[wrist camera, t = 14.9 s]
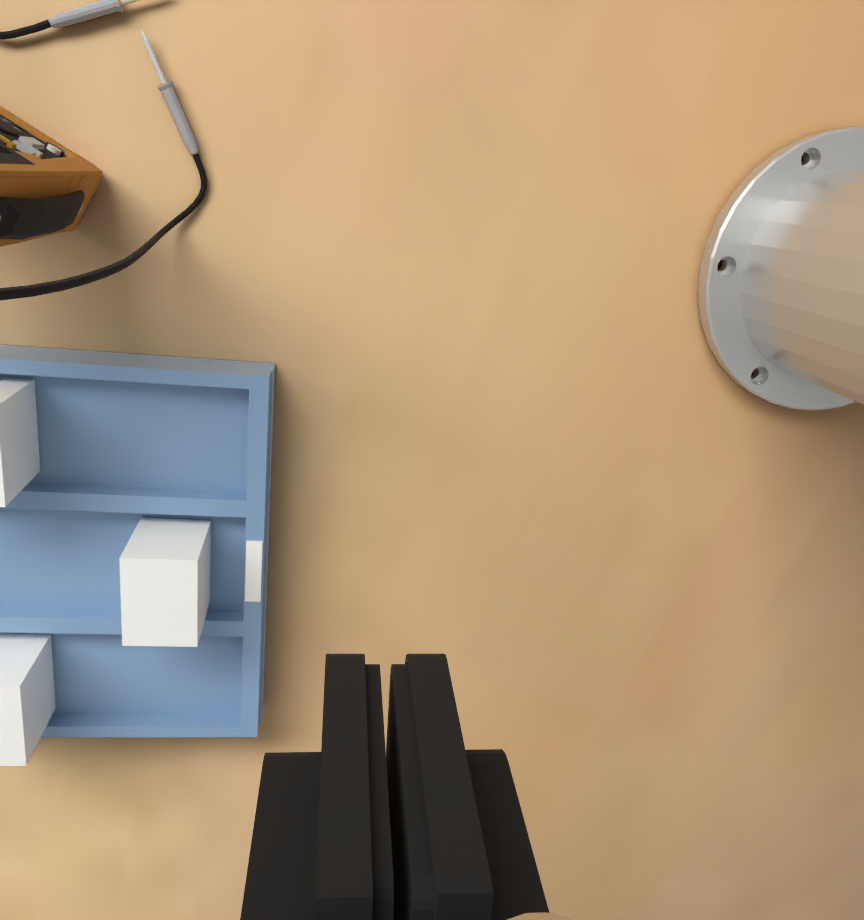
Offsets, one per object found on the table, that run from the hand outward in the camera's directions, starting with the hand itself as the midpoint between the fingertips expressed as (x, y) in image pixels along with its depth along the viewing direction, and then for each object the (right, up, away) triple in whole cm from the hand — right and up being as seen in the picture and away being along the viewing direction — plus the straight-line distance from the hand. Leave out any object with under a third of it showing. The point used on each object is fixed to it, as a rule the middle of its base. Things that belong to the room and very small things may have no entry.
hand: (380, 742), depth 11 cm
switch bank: (-15, 0, +26) cm, 30 cm away
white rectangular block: (-11, -1, +25) cm, 27 cm away
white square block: (-18, -6, +26) cm, 32 cm away
